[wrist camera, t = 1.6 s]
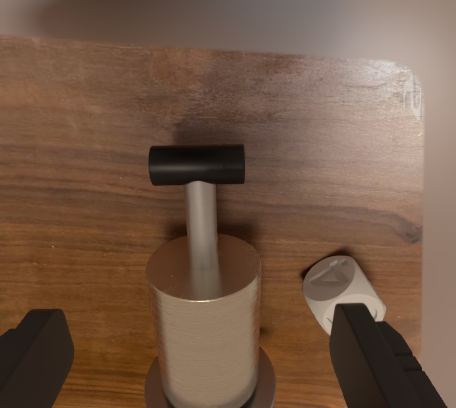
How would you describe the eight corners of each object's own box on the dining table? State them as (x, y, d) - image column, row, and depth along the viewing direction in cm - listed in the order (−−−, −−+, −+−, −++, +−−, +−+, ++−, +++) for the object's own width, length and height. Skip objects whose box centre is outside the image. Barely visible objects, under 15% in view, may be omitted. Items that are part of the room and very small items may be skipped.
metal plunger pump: (159, 337, 33) (129, 128, 24) (266, 335, 33) (276, 125, 24) (130, 460, 23) (61, 179, 14) (285, 456, 23) (313, 174, 14)
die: (296, 274, 30) (309, 313, 25) (344, 245, 29) (366, 281, 24) (323, 307, 31) (340, 349, 27) (370, 281, 30) (395, 321, 26)
